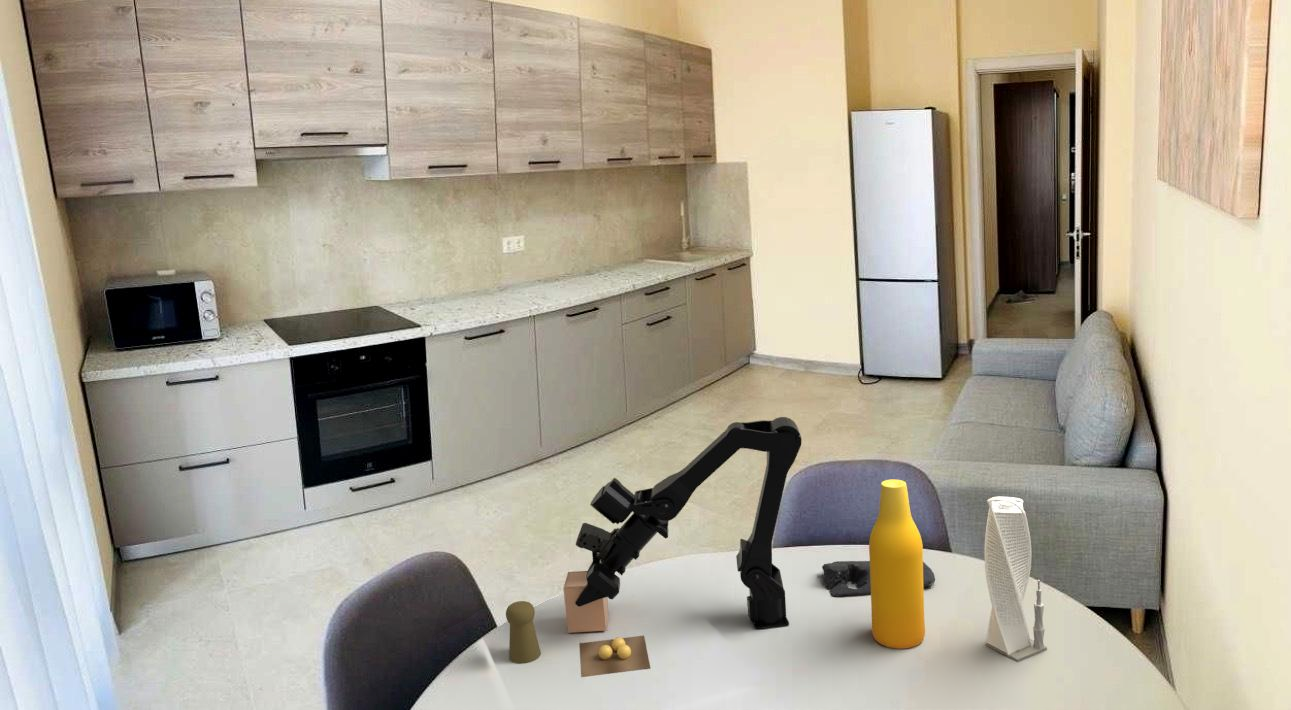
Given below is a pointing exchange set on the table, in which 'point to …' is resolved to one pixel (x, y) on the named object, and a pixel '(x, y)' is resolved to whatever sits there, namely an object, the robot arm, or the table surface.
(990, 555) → the skyscraper
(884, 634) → the beer bottle
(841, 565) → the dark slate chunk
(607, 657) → the amber marbles
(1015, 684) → the table surface
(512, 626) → the olive pawn game piece
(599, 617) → the tan upright cuboid
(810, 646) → the table surface
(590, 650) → the walnut pad
